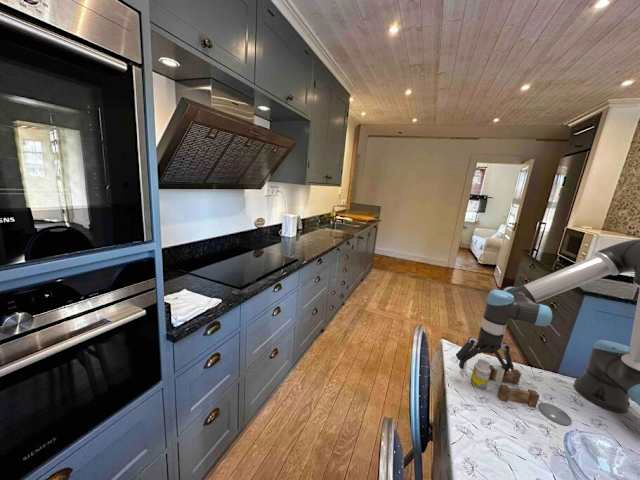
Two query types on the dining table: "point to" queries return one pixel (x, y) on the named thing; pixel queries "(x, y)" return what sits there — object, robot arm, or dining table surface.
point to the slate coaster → (554, 414)
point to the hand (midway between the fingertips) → (479, 378)
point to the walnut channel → (512, 393)
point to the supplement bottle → (481, 374)
